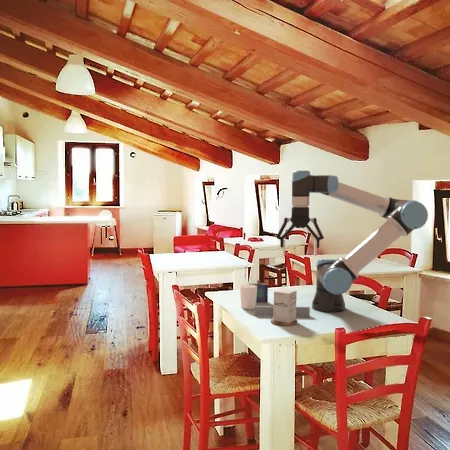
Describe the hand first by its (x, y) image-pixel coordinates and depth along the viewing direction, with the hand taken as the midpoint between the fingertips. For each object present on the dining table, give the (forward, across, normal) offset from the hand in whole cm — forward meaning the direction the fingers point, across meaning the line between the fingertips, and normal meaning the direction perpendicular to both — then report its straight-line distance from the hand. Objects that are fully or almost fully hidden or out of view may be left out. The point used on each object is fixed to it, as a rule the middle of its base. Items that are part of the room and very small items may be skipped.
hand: (299, 255), depth 217 cm
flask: (+27, +17, -24) cm, 40 cm away
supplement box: (+26, +7, +11) cm, 29 cm away
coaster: (+27, +7, +11) cm, 30 cm away
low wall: (+27, +7, +1) cm, 28 cm away
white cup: (+27, +22, -13) cm, 37 cm away
